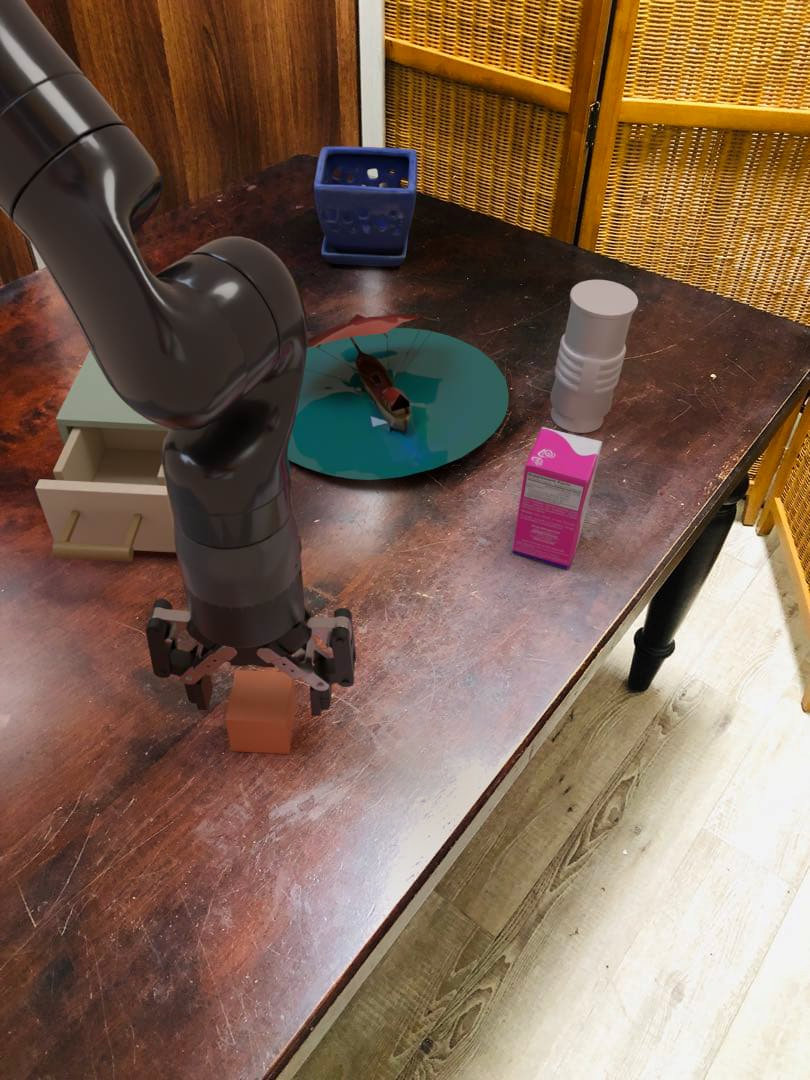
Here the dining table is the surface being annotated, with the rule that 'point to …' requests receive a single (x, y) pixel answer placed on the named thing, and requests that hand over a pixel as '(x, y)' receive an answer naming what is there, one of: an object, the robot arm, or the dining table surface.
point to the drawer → (108, 495)
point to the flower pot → (365, 204)
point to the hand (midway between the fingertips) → (262, 703)
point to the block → (261, 712)
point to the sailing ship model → (392, 400)
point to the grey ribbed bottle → (591, 354)
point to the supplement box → (555, 497)
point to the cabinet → (97, 405)
